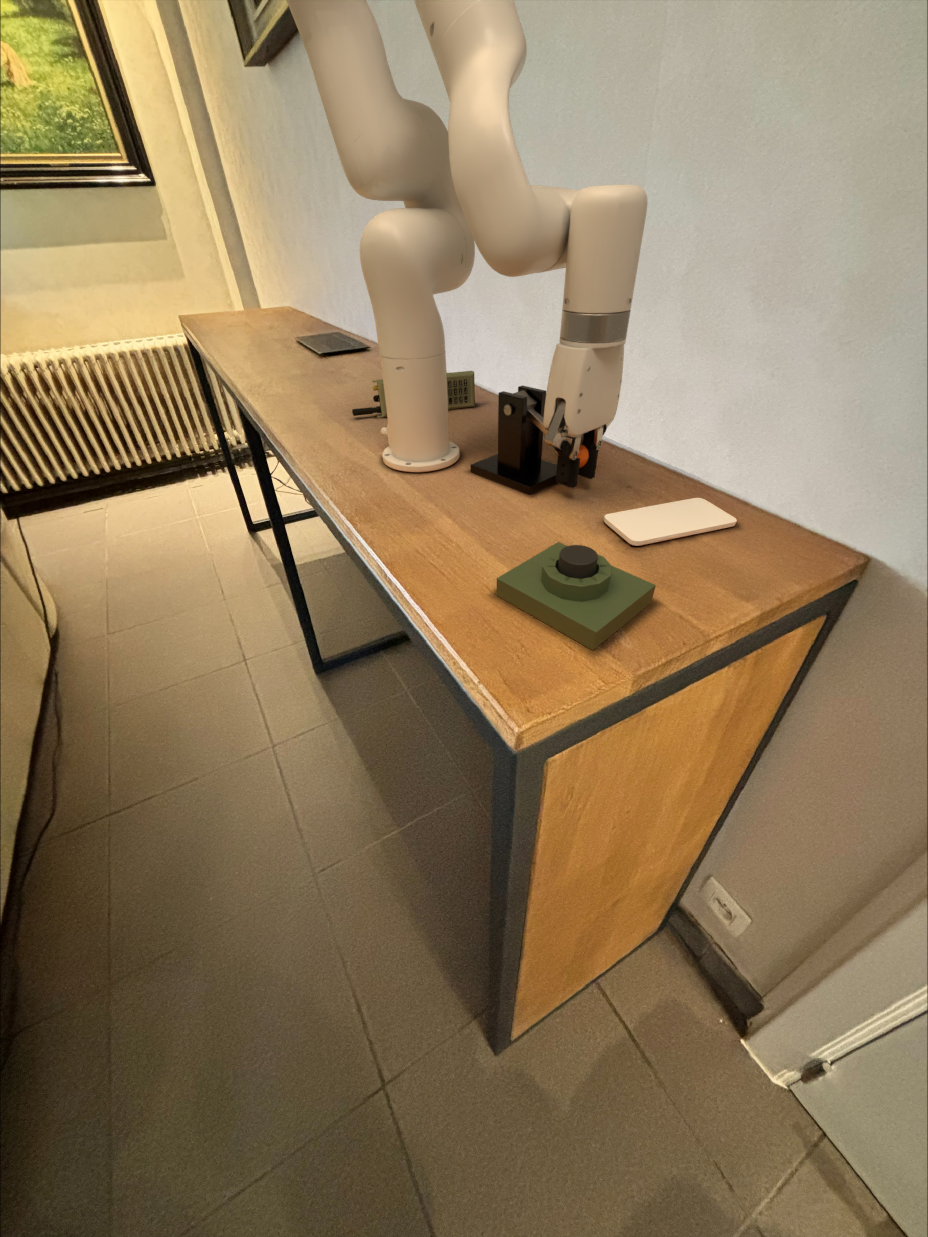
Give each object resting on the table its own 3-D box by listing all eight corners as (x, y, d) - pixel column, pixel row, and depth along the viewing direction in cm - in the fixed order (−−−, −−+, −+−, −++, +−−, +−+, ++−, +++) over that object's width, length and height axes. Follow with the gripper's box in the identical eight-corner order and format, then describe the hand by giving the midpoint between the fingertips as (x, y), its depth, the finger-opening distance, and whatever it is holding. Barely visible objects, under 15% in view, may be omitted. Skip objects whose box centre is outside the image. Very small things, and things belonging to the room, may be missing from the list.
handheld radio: (476, 407, 102) (354, 421, 97) (471, 404, 105) (352, 417, 100) (475, 372, 98) (348, 384, 93) (470, 369, 101) (346, 381, 96)
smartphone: (740, 521, 61) (634, 542, 57) (738, 526, 61) (633, 548, 58) (700, 496, 66) (601, 514, 63) (698, 501, 67) (600, 520, 63)
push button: (550, 569, 49) (551, 554, 47) (572, 555, 50) (574, 540, 49) (580, 584, 46) (583, 569, 45) (602, 569, 48) (605, 554, 47)
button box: (496, 595, 52) (496, 562, 49) (556, 558, 57) (559, 527, 54) (592, 650, 45) (599, 616, 42) (651, 602, 50) (660, 569, 47)
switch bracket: (569, 476, 74) (578, 392, 67) (529, 495, 70) (534, 407, 62) (509, 455, 81) (512, 377, 74) (470, 472, 77) (468, 390, 69)
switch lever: (586, 469, 68) (597, 451, 66) (572, 476, 66) (583, 457, 64) (518, 406, 72) (527, 386, 69) (503, 411, 70) (511, 391, 67)
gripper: (606, 315, 63) (587, 456, 75) (521, 334, 55) (514, 491, 66) (660, 321, 59) (631, 470, 71) (577, 343, 50) (559, 508, 62)
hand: (575, 479), depth 68 cm, fingers closed on switch lever, 3 cm apart
